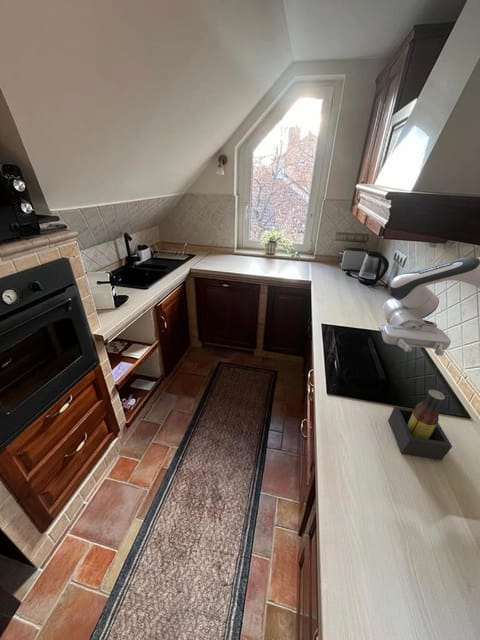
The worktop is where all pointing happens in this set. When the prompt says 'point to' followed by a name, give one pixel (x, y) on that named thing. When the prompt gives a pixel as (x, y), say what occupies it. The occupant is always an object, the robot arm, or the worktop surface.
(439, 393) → the sauce bottle
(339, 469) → the worktop surface
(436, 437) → the caddy
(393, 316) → the robot arm
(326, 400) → the worktop surface
